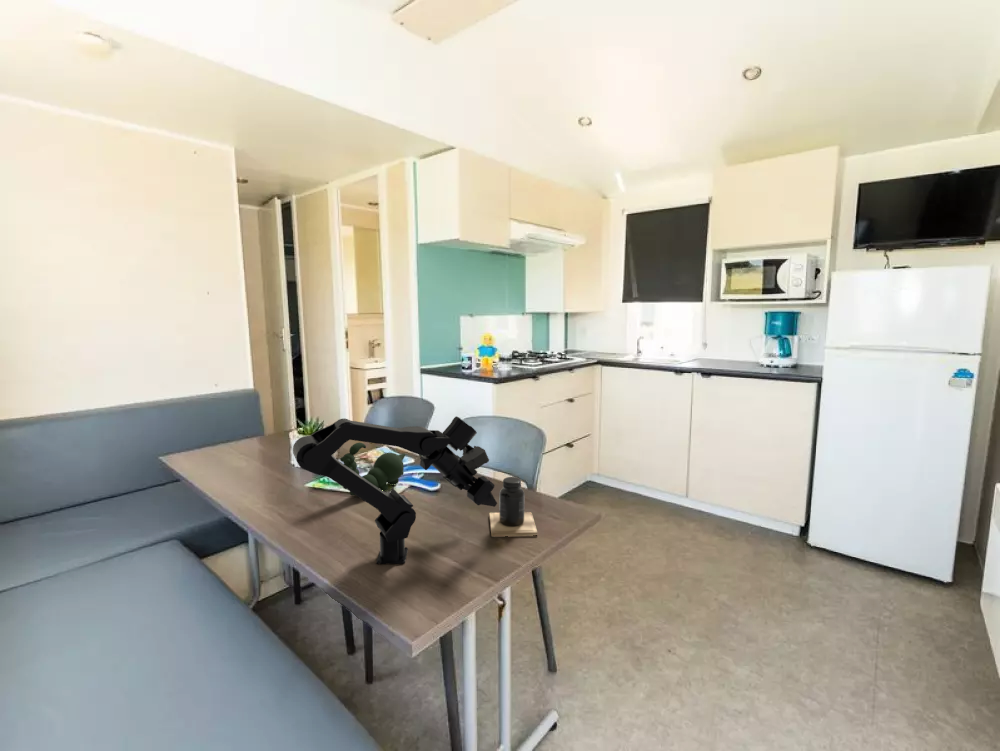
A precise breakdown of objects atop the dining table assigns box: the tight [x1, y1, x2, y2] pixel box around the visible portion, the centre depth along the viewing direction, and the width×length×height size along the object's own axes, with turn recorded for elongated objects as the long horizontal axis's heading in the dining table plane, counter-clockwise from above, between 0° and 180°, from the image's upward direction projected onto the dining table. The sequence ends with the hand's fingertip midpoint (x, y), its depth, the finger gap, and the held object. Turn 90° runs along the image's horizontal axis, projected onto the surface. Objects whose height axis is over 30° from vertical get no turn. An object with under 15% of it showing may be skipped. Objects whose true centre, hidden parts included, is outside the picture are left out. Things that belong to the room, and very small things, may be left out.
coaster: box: [489, 511, 538, 538], centre depth 129 cm, size 12×12×1 cm
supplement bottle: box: [498, 476, 525, 527], centre depth 128 cm, size 7×7×12 cm
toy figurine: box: [339, 442, 406, 496], centre depth 150 cm, size 9×19×25 cm
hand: (486, 498), depth 124 cm, fingers open, 9 cm apart
